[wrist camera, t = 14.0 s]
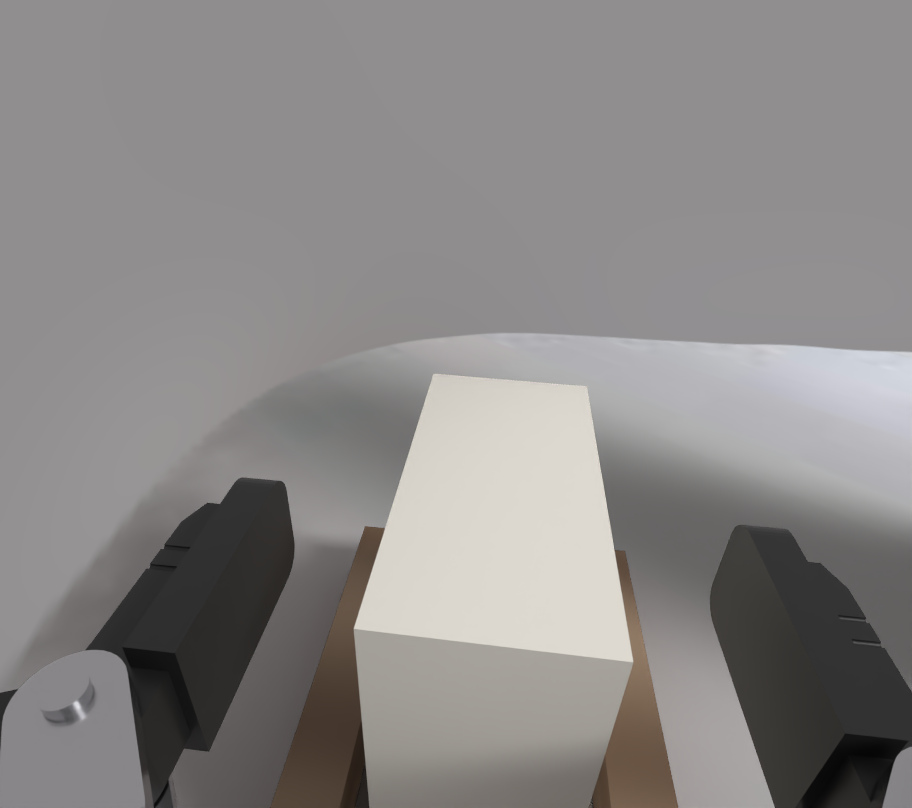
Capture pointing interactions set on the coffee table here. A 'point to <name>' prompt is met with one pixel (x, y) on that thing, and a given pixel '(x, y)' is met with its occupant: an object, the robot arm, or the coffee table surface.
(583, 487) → the key block
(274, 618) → the coffee table surface
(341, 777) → the frame
